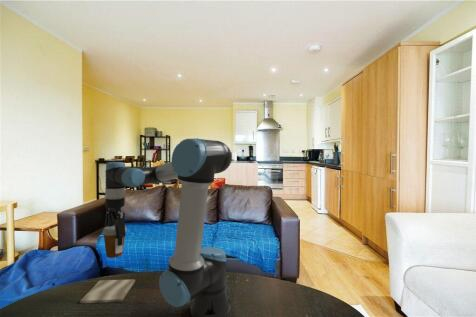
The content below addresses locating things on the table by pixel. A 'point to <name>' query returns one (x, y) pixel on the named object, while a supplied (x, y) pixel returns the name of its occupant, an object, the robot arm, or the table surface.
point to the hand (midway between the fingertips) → (114, 249)
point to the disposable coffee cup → (111, 241)
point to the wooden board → (108, 291)
